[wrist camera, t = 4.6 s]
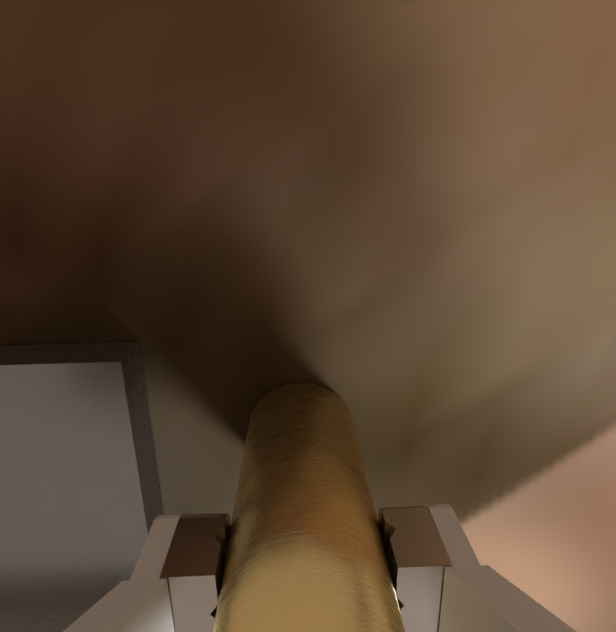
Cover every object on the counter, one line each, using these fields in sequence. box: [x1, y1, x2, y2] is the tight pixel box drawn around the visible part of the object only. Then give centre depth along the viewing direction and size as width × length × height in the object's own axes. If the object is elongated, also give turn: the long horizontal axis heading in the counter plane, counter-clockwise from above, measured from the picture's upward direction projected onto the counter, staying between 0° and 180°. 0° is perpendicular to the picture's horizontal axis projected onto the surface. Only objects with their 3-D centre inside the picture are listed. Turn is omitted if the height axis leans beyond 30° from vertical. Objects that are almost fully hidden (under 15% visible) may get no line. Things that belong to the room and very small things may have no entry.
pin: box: [213, 382, 405, 632], centre depth 9 cm, size 3×3×9 cm
